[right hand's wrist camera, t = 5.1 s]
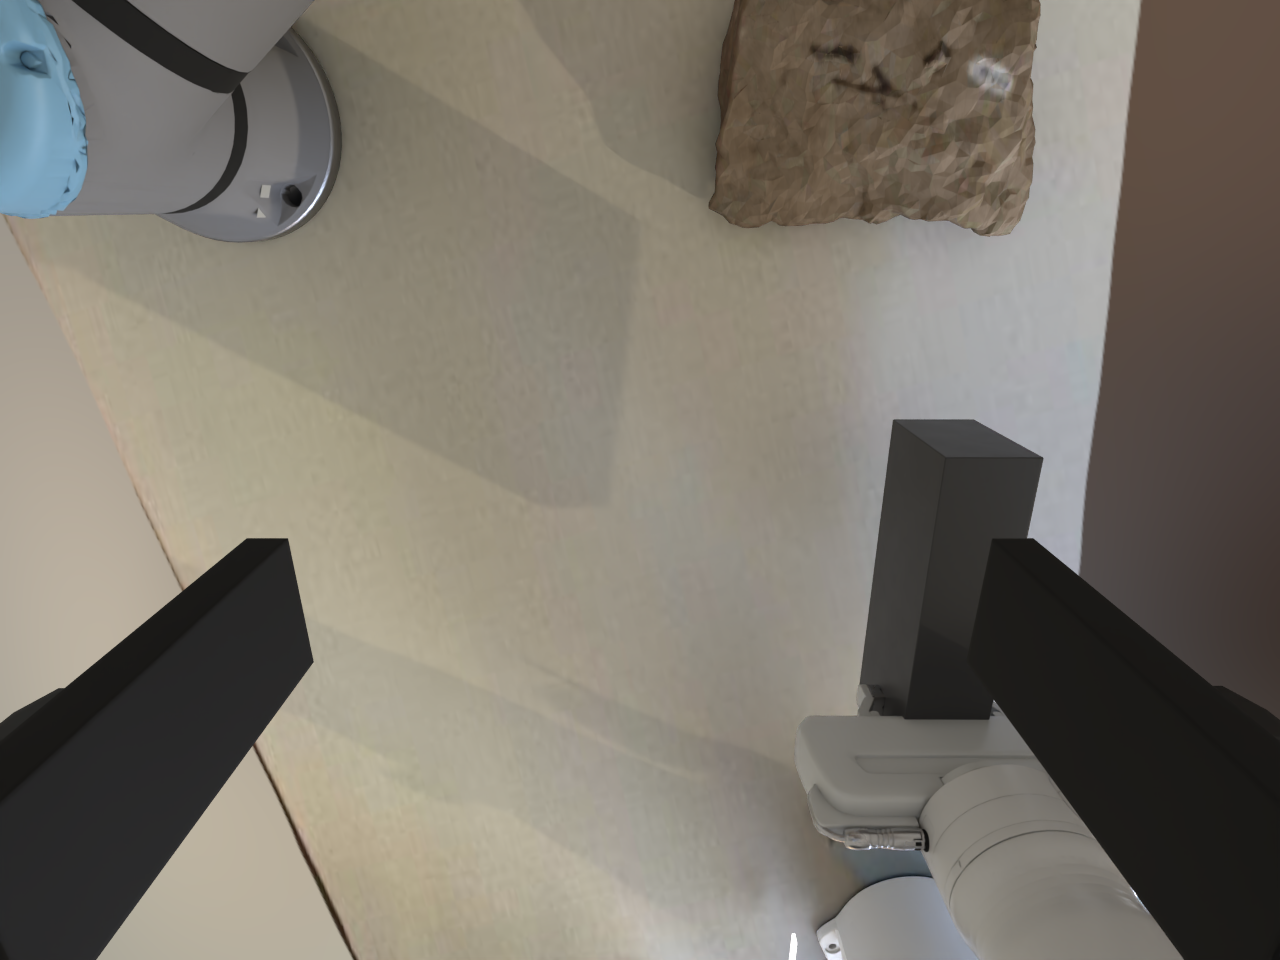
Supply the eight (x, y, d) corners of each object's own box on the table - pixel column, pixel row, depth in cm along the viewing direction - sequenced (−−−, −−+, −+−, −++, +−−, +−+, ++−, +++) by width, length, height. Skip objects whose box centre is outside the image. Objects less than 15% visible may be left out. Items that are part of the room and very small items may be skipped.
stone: (1086, -33, 40) (1128, -41, 35) (1006, 226, 49) (1031, 250, 44) (729, -37, 43) (722, -44, 38) (711, 209, 51) (703, 230, 47)
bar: (892, 419, 48) (945, 457, 39) (974, 419, 48) (1044, 457, 39) (856, 703, 55) (894, 785, 47) (926, 703, 55) (976, 785, 47)
